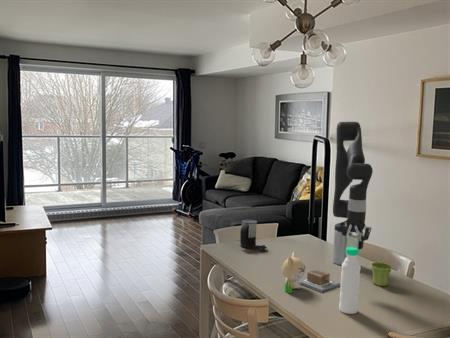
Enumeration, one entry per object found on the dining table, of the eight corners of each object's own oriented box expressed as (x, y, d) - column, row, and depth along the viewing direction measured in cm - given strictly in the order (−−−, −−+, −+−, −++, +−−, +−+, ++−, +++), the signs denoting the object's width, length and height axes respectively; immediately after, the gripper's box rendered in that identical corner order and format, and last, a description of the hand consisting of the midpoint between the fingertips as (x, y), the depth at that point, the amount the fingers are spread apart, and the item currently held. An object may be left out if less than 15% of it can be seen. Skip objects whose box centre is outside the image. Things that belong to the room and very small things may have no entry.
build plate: (315, 276, 212) (315, 273, 212) (340, 285, 202) (340, 282, 202) (295, 282, 203) (296, 279, 203) (321, 292, 193) (321, 289, 193)
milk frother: (241, 243, 266) (242, 218, 264) (267, 245, 263) (269, 220, 262) (238, 250, 252) (239, 224, 250) (266, 252, 249) (267, 226, 248)
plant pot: (390, 282, 209) (392, 264, 208) (391, 289, 200) (392, 270, 199) (369, 279, 212) (371, 261, 211) (369, 285, 203) (370, 267, 202)
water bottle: (336, 307, 178) (340, 245, 175) (353, 307, 178) (357, 245, 176) (342, 314, 171) (346, 250, 168) (360, 314, 172) (364, 251, 169)
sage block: (352, 247, 199) (353, 234, 198) (362, 250, 195) (363, 236, 195) (346, 249, 196) (346, 235, 195) (356, 252, 192) (357, 238, 191)
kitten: (300, 295, 188) (302, 261, 187) (277, 291, 192) (278, 257, 190) (306, 284, 202) (308, 251, 201) (284, 280, 206) (286, 248, 204)
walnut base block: (316, 277, 207) (317, 269, 207) (329, 282, 202) (329, 273, 202) (307, 281, 203) (307, 272, 202) (319, 285, 197) (320, 276, 197)
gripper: (376, 211, 191) (373, 250, 193) (346, 205, 201) (344, 242, 203) (367, 213, 186) (364, 253, 188) (337, 207, 196) (335, 245, 198)
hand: (354, 247), depth 195 cm, fingers closed on sage block, 5 cm apart
